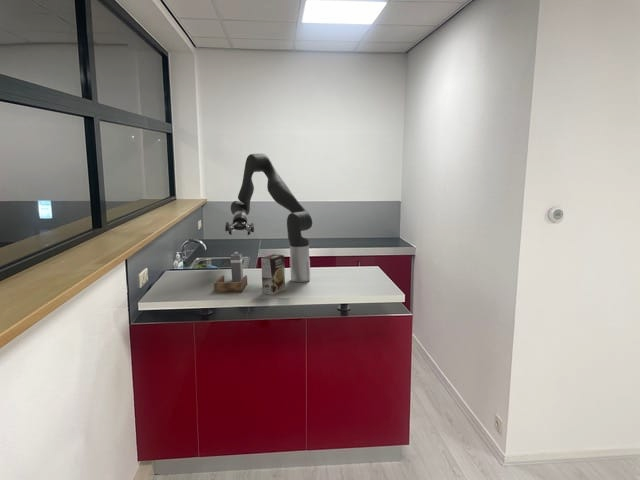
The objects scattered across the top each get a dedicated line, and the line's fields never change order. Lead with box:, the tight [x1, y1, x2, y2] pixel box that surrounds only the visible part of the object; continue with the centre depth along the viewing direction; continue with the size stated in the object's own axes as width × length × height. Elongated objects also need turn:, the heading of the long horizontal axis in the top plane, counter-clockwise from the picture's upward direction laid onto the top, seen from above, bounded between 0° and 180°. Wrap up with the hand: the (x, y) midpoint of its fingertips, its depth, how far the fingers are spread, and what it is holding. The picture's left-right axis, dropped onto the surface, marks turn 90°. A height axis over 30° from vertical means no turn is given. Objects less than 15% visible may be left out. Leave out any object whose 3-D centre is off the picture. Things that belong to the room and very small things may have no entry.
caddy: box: [213, 275, 248, 294], centre depth 205 cm, size 12×13×4 cm
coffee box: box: [260, 253, 286, 295], centre depth 198 cm, size 9×6×16 cm
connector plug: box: [230, 251, 244, 282], centre depth 218 cm, size 5×5×14 cm
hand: (239, 233), depth 220 cm, fingers open, 8 cm apart
